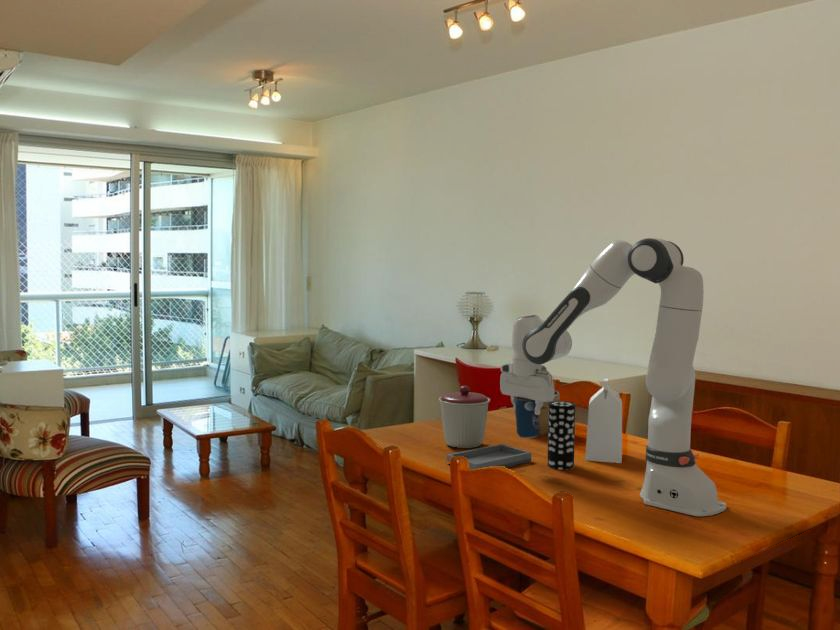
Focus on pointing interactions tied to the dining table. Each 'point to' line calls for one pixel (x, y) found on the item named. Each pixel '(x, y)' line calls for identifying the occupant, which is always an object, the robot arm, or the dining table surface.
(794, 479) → the dining table surface
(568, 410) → the white-spotted black cylinder
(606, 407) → the milk
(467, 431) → the canister
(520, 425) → the soda can
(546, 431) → the potted plant
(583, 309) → the robot arm
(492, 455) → the tray
